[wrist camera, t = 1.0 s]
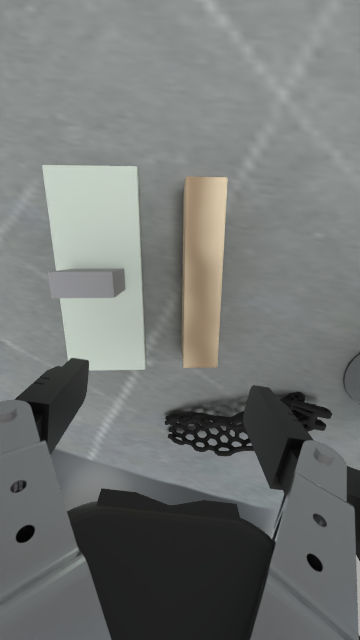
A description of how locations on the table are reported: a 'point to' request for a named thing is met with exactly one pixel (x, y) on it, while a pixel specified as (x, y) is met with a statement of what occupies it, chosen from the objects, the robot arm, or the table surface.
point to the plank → (202, 268)
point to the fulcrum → (98, 263)
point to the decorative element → (295, 401)
